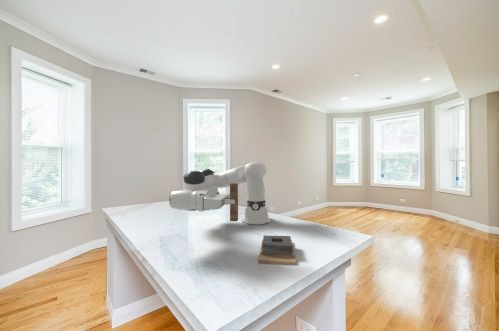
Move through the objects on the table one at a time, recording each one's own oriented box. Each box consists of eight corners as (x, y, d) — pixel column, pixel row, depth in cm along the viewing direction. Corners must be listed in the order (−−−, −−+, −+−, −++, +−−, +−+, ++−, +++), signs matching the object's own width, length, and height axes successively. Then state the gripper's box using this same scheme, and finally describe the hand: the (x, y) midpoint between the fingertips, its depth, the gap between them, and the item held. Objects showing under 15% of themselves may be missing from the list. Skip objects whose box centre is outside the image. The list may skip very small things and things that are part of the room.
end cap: (262, 241, 112) (262, 231, 112) (291, 242, 110) (291, 232, 110) (258, 263, 88) (258, 250, 88) (296, 264, 86) (296, 251, 86)
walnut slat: (231, 219, 102) (231, 183, 102) (238, 219, 102) (237, 183, 101) (230, 221, 99) (229, 183, 99) (236, 221, 99) (236, 183, 98)
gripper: (211, 203, 112) (240, 203, 110) (197, 212, 92) (231, 212, 90) (211, 190, 112) (239, 190, 110) (197, 196, 92) (231, 196, 90)
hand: (236, 200), depth 100 cm, fingers closed on walnut slat, 3 cm apart
